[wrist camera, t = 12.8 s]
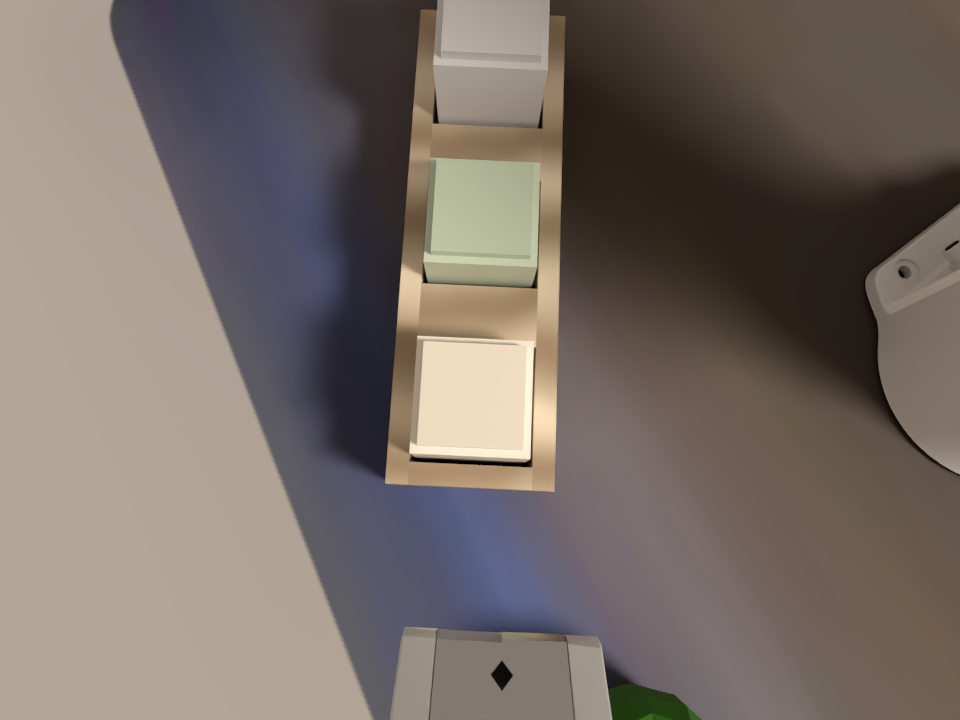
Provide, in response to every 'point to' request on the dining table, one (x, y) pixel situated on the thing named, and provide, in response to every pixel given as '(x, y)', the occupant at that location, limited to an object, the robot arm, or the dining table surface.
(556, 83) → the keypad housing
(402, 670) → the robot arm
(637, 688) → the bell pepper
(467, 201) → the sage key
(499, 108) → the grey key
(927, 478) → the dining table surface
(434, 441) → the cream key
